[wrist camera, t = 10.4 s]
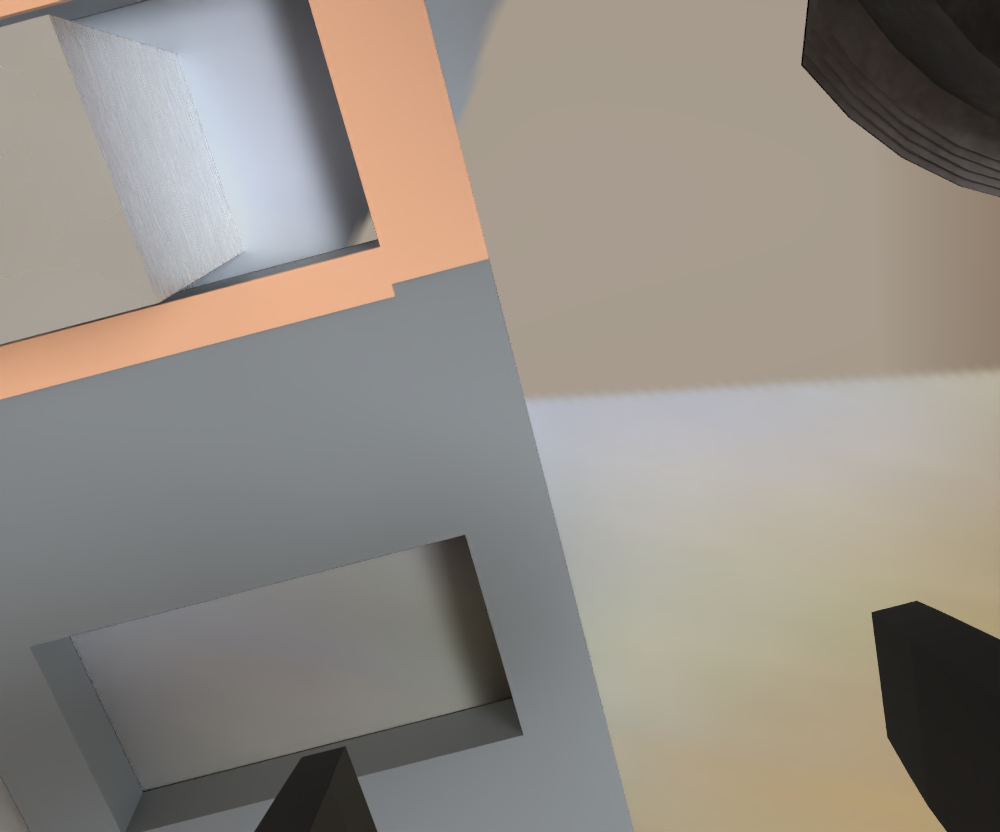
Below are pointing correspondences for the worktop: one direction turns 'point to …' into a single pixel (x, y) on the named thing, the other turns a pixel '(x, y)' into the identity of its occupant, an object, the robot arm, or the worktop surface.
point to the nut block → (99, 178)
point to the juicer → (915, 79)
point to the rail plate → (298, 485)
